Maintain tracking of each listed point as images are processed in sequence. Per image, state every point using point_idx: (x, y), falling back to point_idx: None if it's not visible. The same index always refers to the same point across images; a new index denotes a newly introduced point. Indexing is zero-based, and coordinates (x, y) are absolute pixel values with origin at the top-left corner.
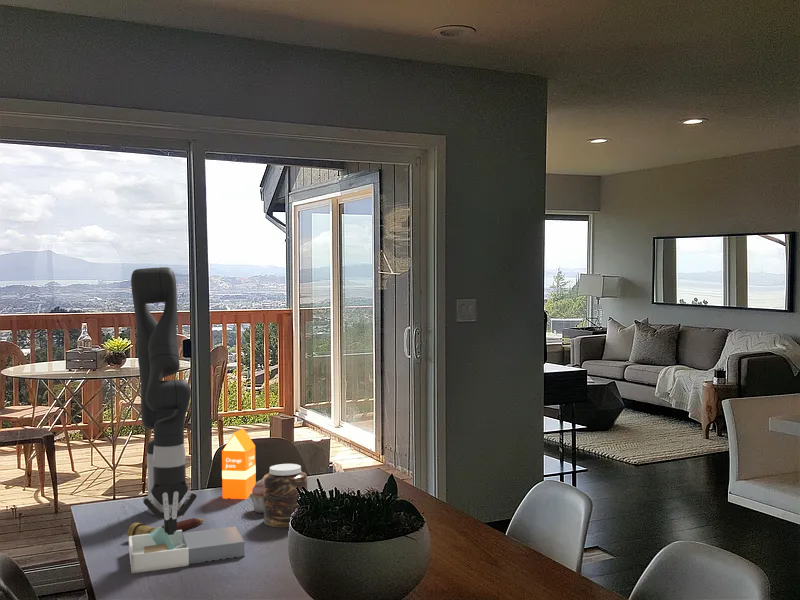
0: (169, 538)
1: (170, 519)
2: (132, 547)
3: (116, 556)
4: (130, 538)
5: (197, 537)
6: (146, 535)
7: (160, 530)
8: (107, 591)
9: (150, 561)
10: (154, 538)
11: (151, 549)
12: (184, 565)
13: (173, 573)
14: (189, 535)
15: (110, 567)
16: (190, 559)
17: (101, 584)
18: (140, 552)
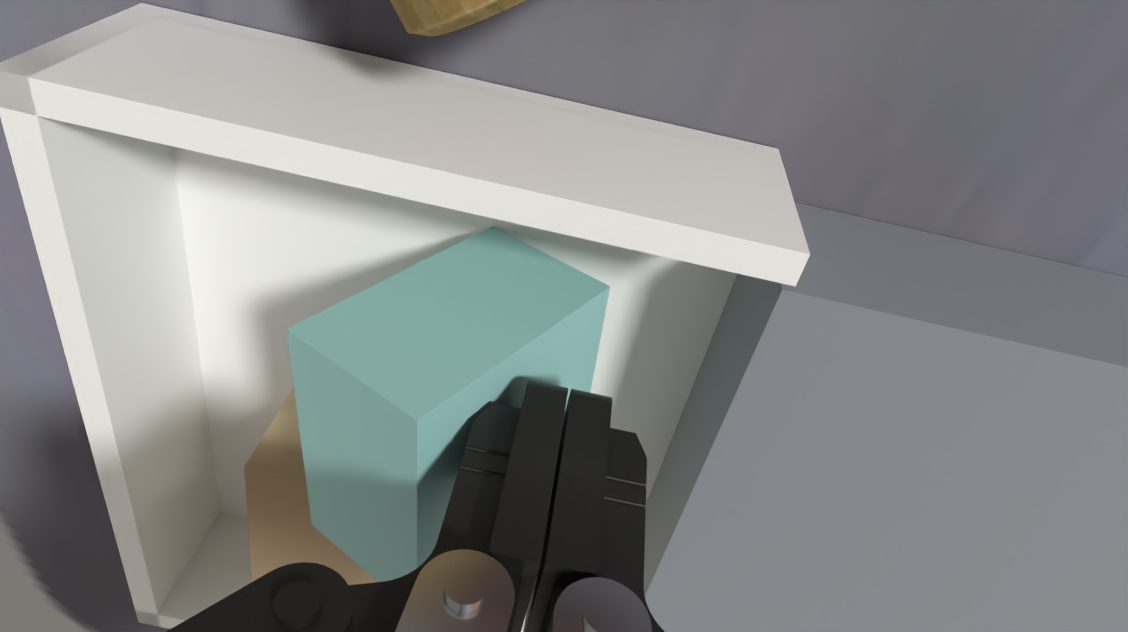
0: None
1: (534, 595)
2: (122, 483)
3: (14, 50)
4: (41, 193)
5: (834, 525)
6: (267, 161)
7: (391, 526)
8: (100, 624)
9: None
10: (326, 535)
11: (312, 558)
12: None
13: None
14: (801, 428)
15: (28, 318)
16: None
17: (42, 542)
18: (266, 182)
